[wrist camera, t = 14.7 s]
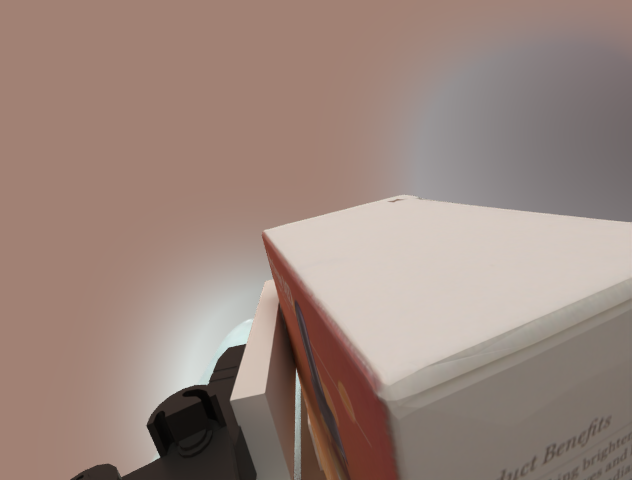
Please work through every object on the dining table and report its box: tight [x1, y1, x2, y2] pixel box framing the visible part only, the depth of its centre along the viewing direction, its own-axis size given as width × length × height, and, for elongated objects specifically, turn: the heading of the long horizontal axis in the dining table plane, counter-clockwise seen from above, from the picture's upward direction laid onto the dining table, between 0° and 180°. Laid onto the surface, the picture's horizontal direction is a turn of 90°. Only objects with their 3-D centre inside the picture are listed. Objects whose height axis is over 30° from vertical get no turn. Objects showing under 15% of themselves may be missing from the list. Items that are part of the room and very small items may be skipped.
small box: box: [262, 195, 632, 480], centre depth 8 cm, size 8×6×10 cm
